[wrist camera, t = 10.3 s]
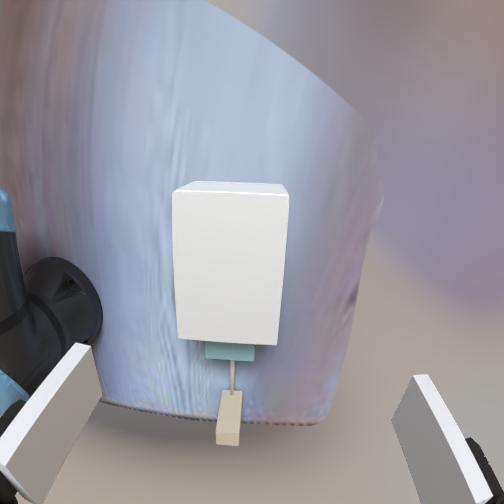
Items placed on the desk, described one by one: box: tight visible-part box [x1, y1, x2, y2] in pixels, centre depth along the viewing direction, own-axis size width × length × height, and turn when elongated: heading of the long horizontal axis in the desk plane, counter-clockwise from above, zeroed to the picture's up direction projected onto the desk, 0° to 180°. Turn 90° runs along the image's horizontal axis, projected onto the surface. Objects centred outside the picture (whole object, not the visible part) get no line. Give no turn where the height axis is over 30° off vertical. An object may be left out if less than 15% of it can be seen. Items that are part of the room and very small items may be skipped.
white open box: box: [172, 181, 289, 345], centre depth 34 cm, size 10×15×10 cm
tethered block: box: [205, 341, 255, 446], centre depth 40 cm, size 6×20×9 cm, turn 177°
